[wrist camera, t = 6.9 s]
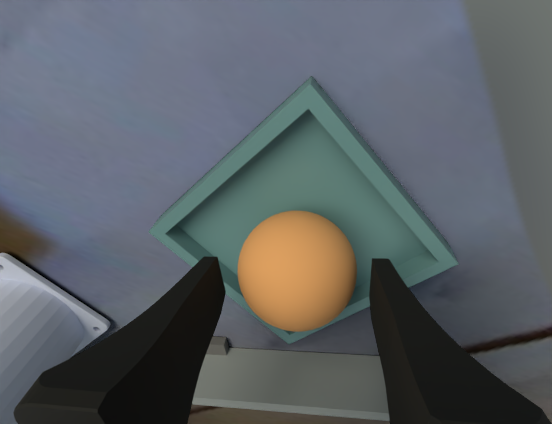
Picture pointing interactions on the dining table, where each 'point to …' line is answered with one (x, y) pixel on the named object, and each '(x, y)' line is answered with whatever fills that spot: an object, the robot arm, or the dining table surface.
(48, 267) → the dining table surface
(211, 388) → the wall
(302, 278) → the ball
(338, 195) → the tray
